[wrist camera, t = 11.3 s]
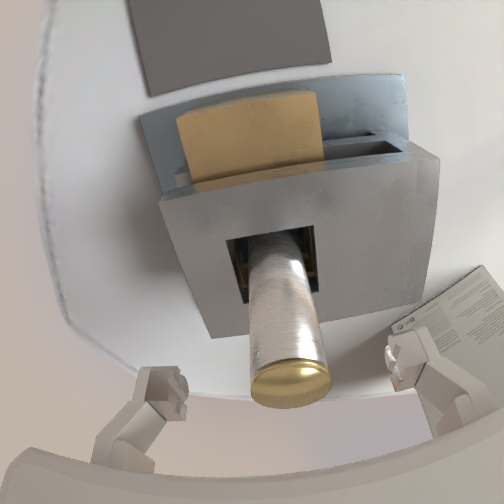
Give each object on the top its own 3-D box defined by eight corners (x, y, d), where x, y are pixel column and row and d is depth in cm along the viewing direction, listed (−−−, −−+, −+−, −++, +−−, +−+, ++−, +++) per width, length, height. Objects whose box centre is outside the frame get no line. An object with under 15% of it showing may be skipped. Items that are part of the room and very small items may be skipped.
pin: (243, 198, 21) (243, 376, 10) (286, 191, 21) (332, 362, 9) (252, 234, 23) (258, 412, 11) (291, 227, 23) (330, 401, 11)
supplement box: (415, 368, 37) (451, 474, 22) (387, 325, 31) (439, 468, 16) (490, 319, 32) (543, 416, 18) (482, 261, 26) (566, 383, 12)
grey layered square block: (143, 113, 18) (96, 138, 12) (398, 74, 17) (461, 85, 11) (208, 307, 28) (201, 373, 22) (395, 275, 27) (427, 332, 21)
